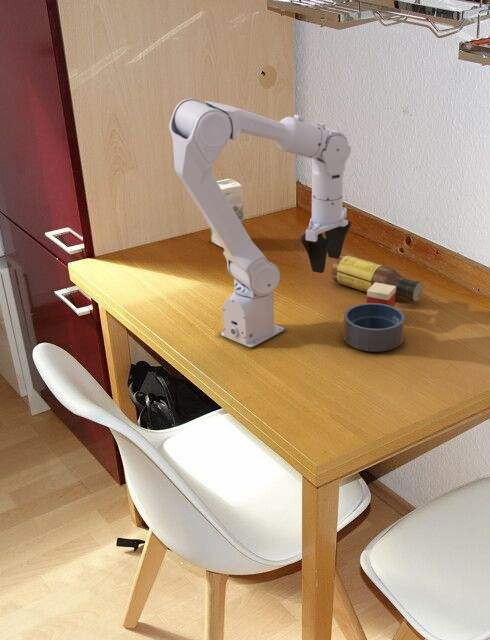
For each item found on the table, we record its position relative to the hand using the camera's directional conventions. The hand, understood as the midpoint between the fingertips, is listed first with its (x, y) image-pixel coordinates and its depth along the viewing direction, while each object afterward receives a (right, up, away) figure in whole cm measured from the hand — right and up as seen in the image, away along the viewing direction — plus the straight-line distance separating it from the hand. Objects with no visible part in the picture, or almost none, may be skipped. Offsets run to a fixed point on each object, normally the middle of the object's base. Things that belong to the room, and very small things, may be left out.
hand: (326, 264), depth 160 cm
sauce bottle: (+2, +2, +17) cm, 17 cm away
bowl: (+9, -15, -4) cm, 18 cm away
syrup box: (-23, +11, +36) cm, 45 cm away
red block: (+11, -9, +5) cm, 15 cm away
